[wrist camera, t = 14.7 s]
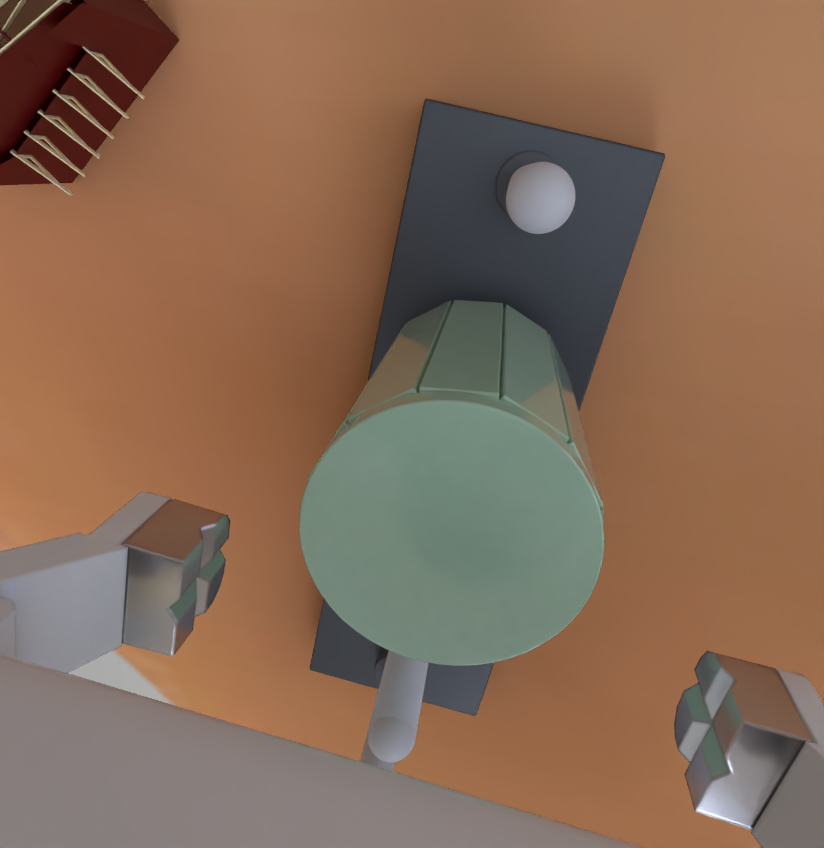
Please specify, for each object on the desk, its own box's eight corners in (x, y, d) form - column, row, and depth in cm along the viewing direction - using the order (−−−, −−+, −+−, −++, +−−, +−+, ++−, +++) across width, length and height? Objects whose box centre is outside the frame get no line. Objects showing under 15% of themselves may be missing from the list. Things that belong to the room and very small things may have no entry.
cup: (518, 266, 20) (524, 345, 11) (597, 437, 21) (652, 615, 13) (346, 351, 21) (242, 474, 13) (431, 503, 23) (386, 698, 15)
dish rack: (477, 691, 30) (457, 997, 19) (318, 647, 30) (206, 922, 19) (656, 154, 21) (811, 139, 10) (430, 102, 22) (343, 32, 11)
